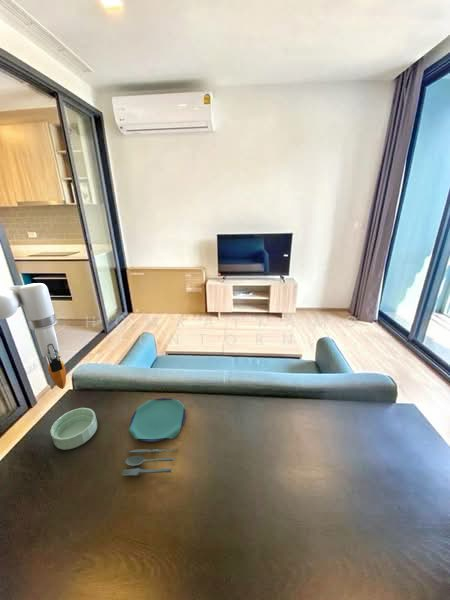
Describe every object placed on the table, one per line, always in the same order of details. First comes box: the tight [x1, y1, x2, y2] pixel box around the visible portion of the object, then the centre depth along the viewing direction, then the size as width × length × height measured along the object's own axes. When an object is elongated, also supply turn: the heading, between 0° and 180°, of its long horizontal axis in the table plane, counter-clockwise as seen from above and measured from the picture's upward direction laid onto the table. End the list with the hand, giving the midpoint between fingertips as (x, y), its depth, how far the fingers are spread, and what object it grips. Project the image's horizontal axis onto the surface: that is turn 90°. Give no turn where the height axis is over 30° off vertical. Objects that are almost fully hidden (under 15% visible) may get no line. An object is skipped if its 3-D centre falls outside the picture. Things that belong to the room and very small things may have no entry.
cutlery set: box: [121, 397, 187, 477], centre depth 86 cm, size 20×30×2 cm, turn 1°
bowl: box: [49, 407, 98, 451], centre depth 86 cm, size 13×13×5 cm
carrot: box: [47, 351, 67, 390], centre depth 90 cm, size 5×5×15 cm
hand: (56, 366), depth 89 cm, fingers closed on carrot, 4 cm apart
